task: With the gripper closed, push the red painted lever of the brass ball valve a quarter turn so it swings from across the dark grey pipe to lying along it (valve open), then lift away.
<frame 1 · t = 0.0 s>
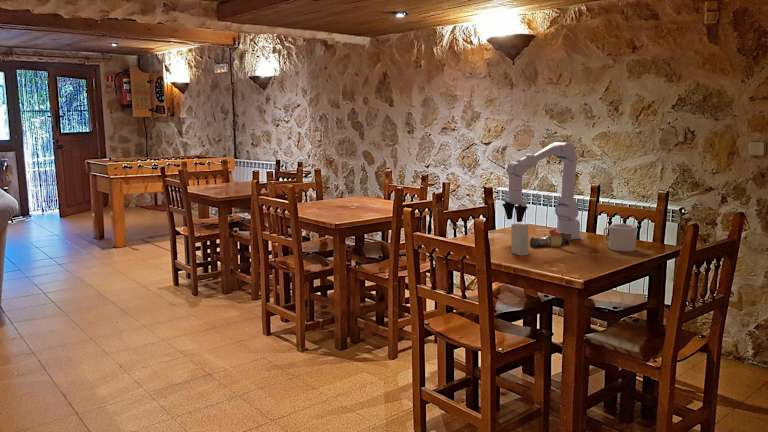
hand: (514, 220, 268), 10 cm above the table, fingers open, 7 cm apart
pipe: (550, 245, 265), on the table
skincare box: (519, 254, 249), on the table
lever: (559, 233, 260), point 6 cm above the table, hinge at 90.0°
mug: (618, 249, 258), on the table
valve body: (552, 245, 265), on the table
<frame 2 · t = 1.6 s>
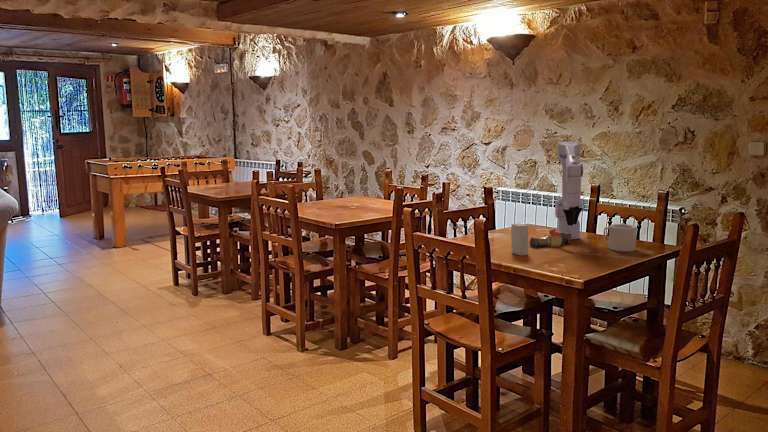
hand: (571, 224, 258), 10 cm above the table, fingers open, 3 cm apart
nothing on the table moved.
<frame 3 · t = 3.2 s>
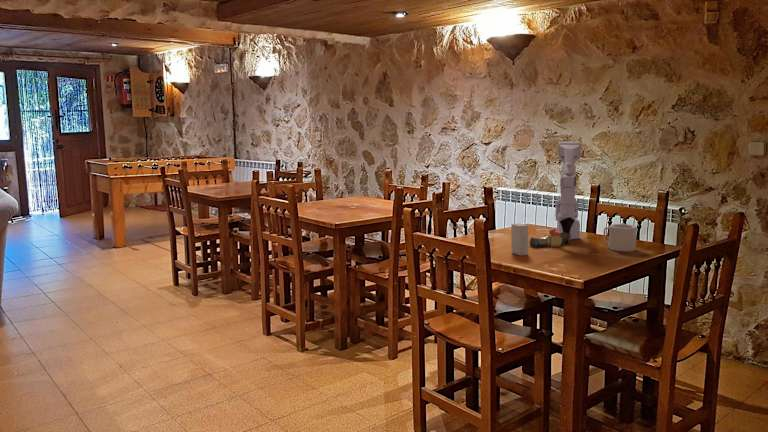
hand: (566, 235, 258), 5 cm above the table, fingers closed, pressing on lever
lever: (559, 233, 260), point 6 cm above the table, hinge at 88.2°, touching gripper
everything else where it was.
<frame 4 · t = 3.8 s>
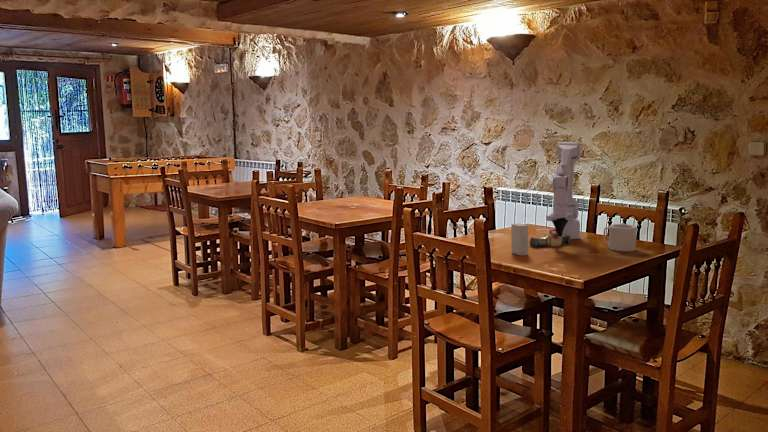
hand: (559, 236, 258), 5 cm above the table, fingers closed, pressing on lever
lever: (554, 233, 260), point 6 cm above the table, hinge at 59.9°, touching gripper
everything else where it was.
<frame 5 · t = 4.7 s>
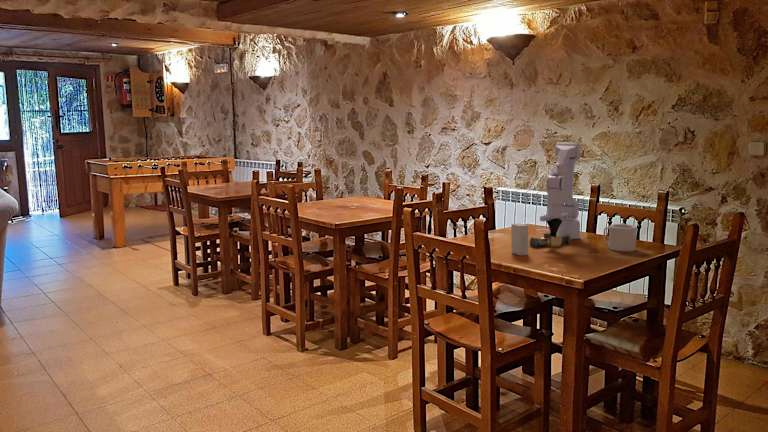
hand: (553, 236, 258), 5 cm above the table, fingers closed, pressing on lever
lever: (549, 233, 260), point 6 cm above the table, hinge at 39.3°, touching gripper
everything else where it was.
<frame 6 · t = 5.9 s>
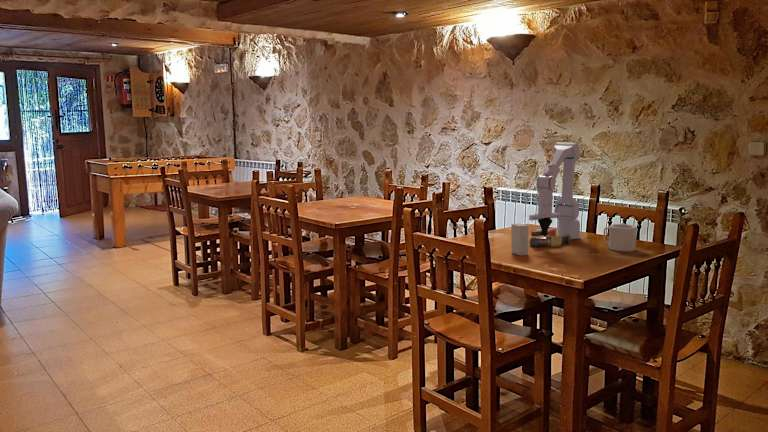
hand: (544, 235, 260), 5 cm above the table, fingers closed, pressing on lever
lever: (544, 232, 262), point 6 cm above the table, hinge at 5.7°, touching gripper
everything else where it was.
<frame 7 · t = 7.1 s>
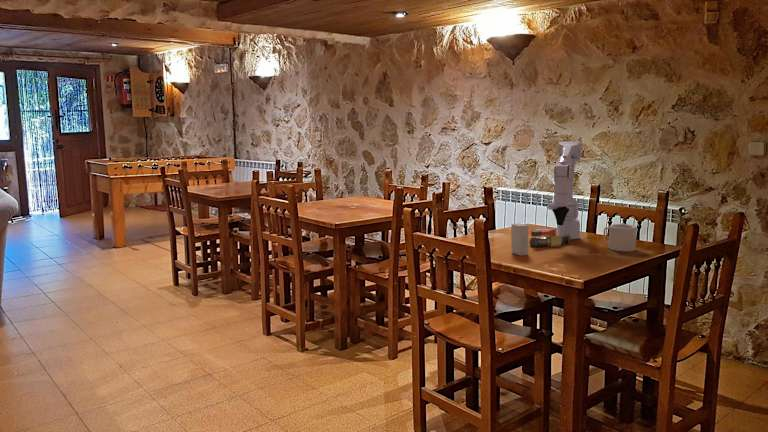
hand: (560, 225, 258), 10 cm above the table, fingers closed
lever: (544, 232, 262), point 6 cm above the table, hinge at 5.4°
everything else where it was.
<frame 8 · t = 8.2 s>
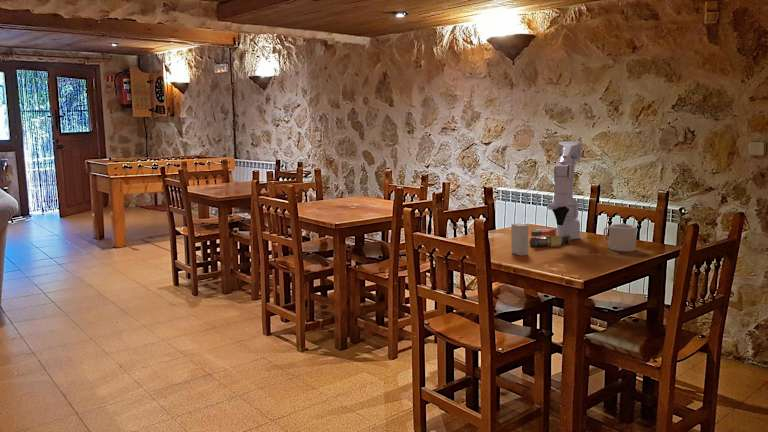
hand: (560, 225, 258), 10 cm above the table, fingers closed
nothing on the table moved.
at the end: lever at +5° (first picture: +90°) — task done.
